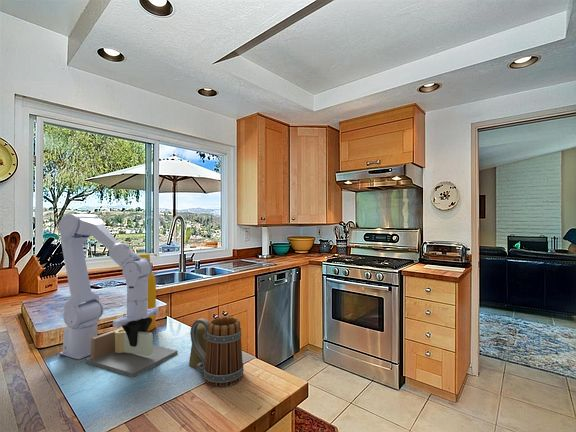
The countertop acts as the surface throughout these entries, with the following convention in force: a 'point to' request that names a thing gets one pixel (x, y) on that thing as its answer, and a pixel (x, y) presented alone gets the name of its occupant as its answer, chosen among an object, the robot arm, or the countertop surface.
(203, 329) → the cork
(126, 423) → the countertop surface
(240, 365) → the mug
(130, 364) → the cabinet base
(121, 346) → the door
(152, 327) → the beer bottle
